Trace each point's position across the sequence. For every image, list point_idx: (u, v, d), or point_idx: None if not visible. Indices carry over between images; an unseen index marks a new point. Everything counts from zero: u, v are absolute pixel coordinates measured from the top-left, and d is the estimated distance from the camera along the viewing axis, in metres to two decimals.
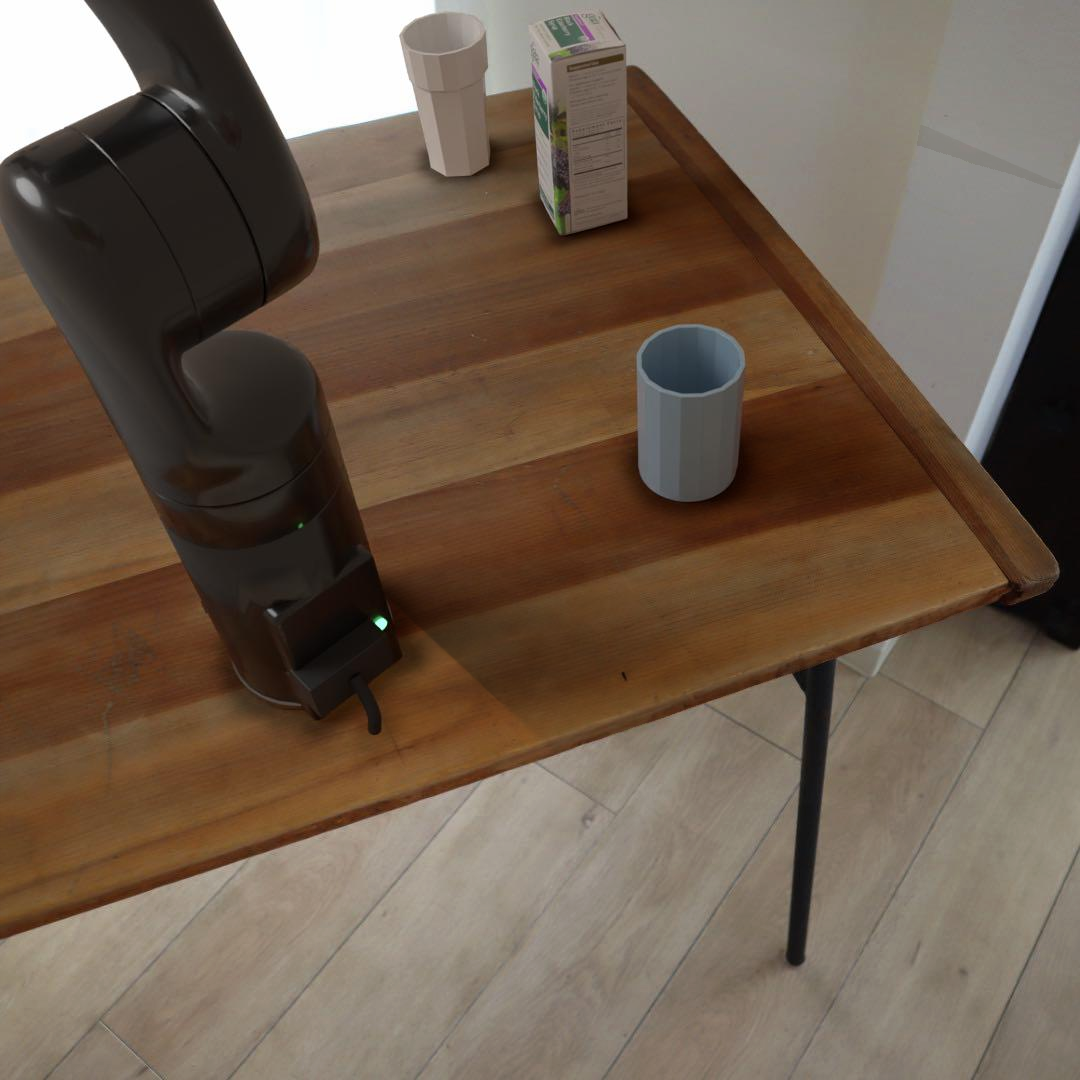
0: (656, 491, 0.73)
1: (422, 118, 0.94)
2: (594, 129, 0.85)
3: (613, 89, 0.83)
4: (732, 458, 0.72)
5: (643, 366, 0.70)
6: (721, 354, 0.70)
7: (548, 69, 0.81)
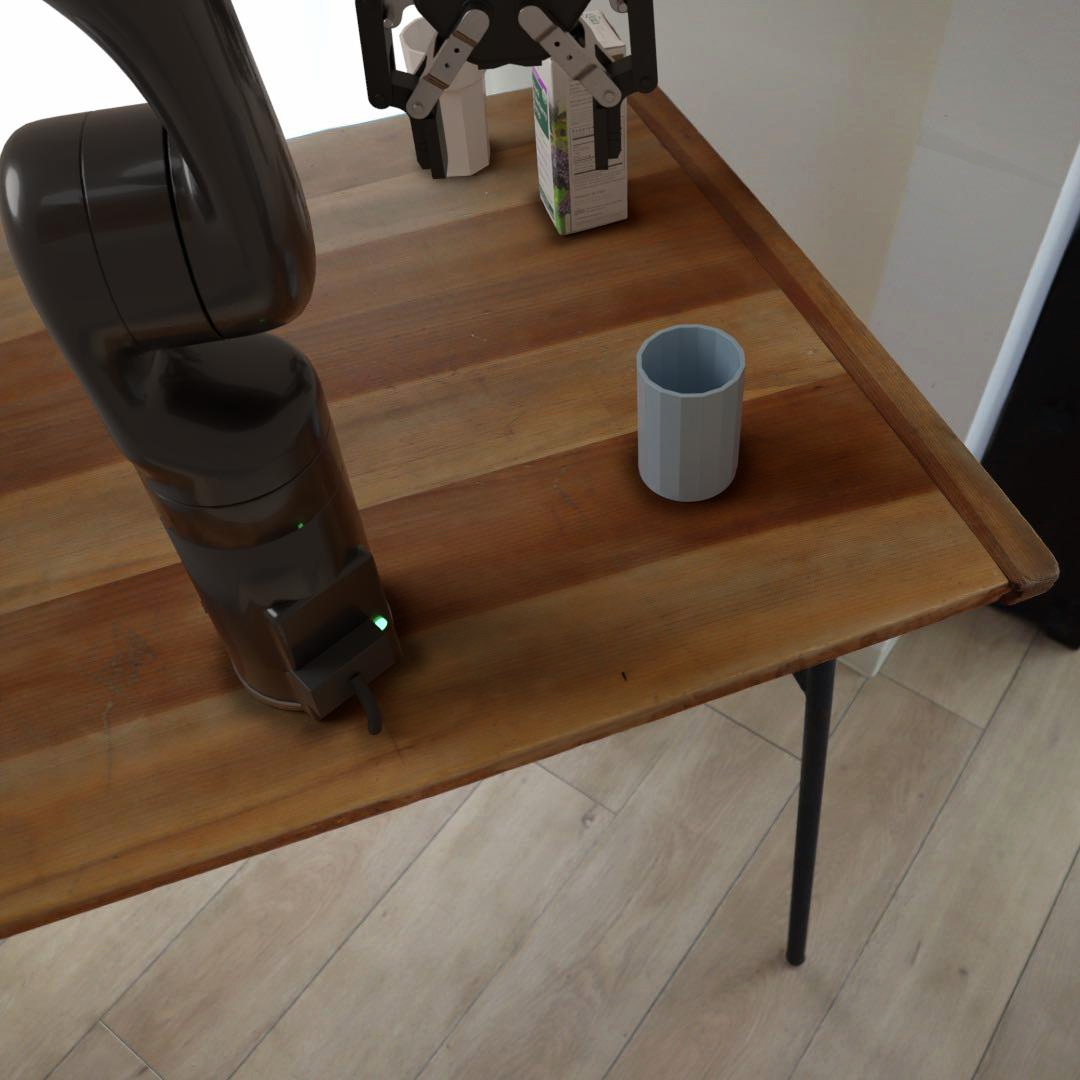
0: (656, 491, 0.73)
1: None
2: None
3: None
4: (732, 458, 0.72)
5: (643, 366, 0.70)
6: (721, 354, 0.70)
7: (548, 69, 0.81)
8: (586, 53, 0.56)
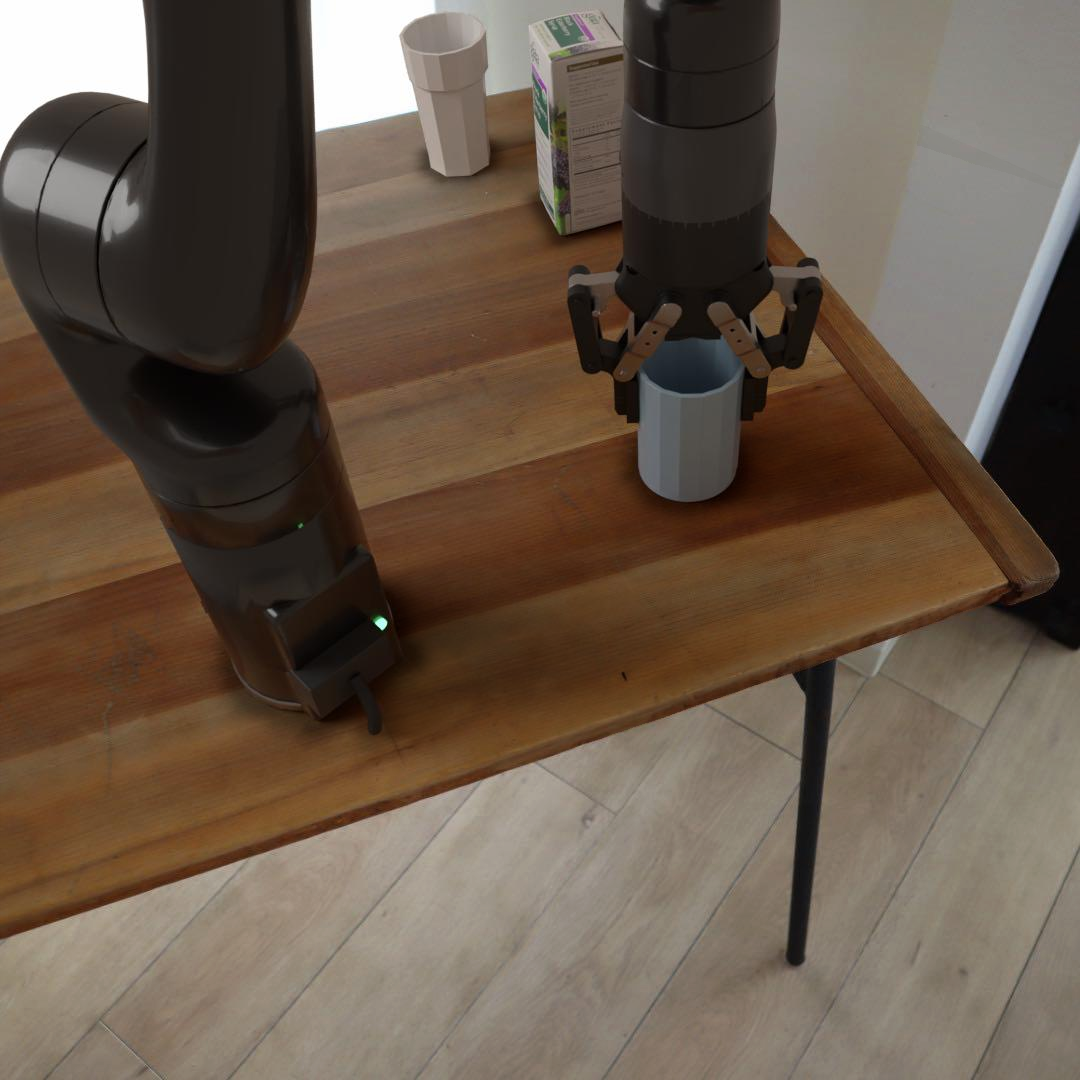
0: (656, 491, 0.73)
1: (422, 118, 0.94)
2: (594, 129, 0.85)
3: (613, 89, 0.83)
4: (732, 458, 0.72)
5: (643, 366, 0.70)
6: (721, 354, 0.70)
7: (548, 69, 0.81)
8: (752, 338, 0.65)
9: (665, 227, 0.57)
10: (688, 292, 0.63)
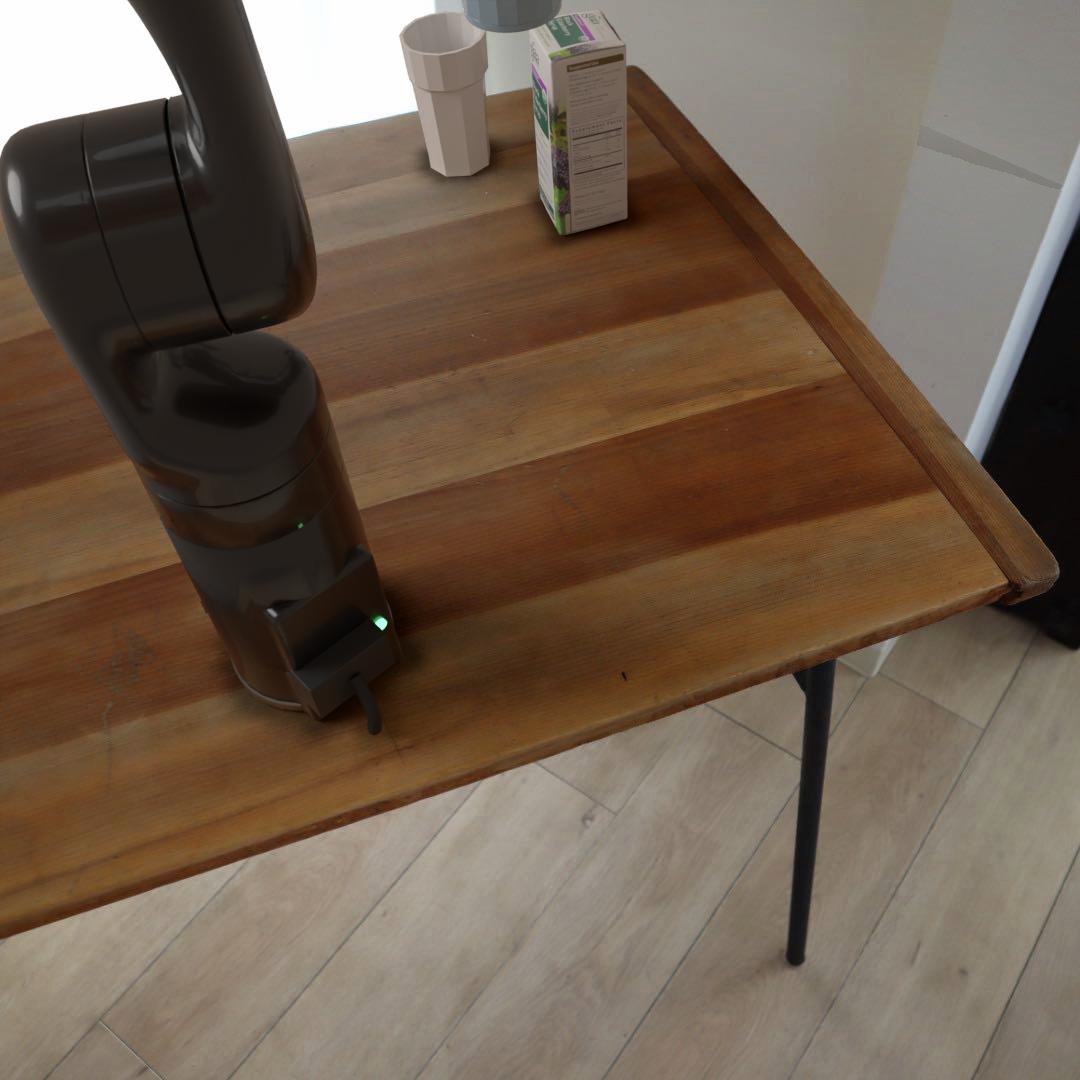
0: (478, 25, 0.73)
1: (422, 118, 0.94)
2: (594, 129, 0.85)
3: (613, 89, 0.83)
4: None
5: None
6: None
7: (548, 69, 0.81)
8: None
9: None
10: None
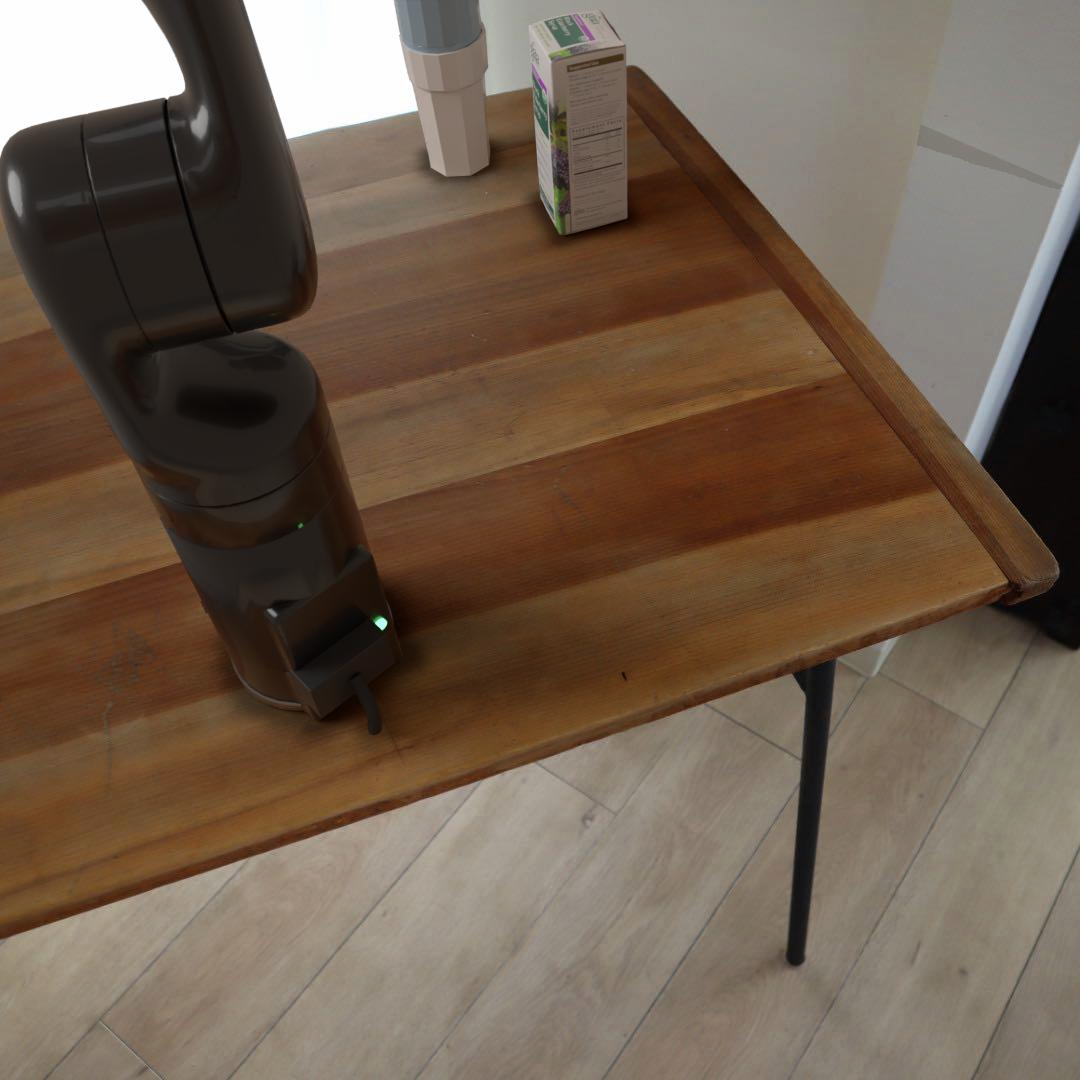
0: (411, 46, 0.89)
1: (422, 118, 0.94)
2: (594, 129, 0.85)
3: (613, 89, 0.83)
4: (469, 11, 0.87)
5: None
6: None
7: (548, 69, 0.81)
8: None
9: None
10: None
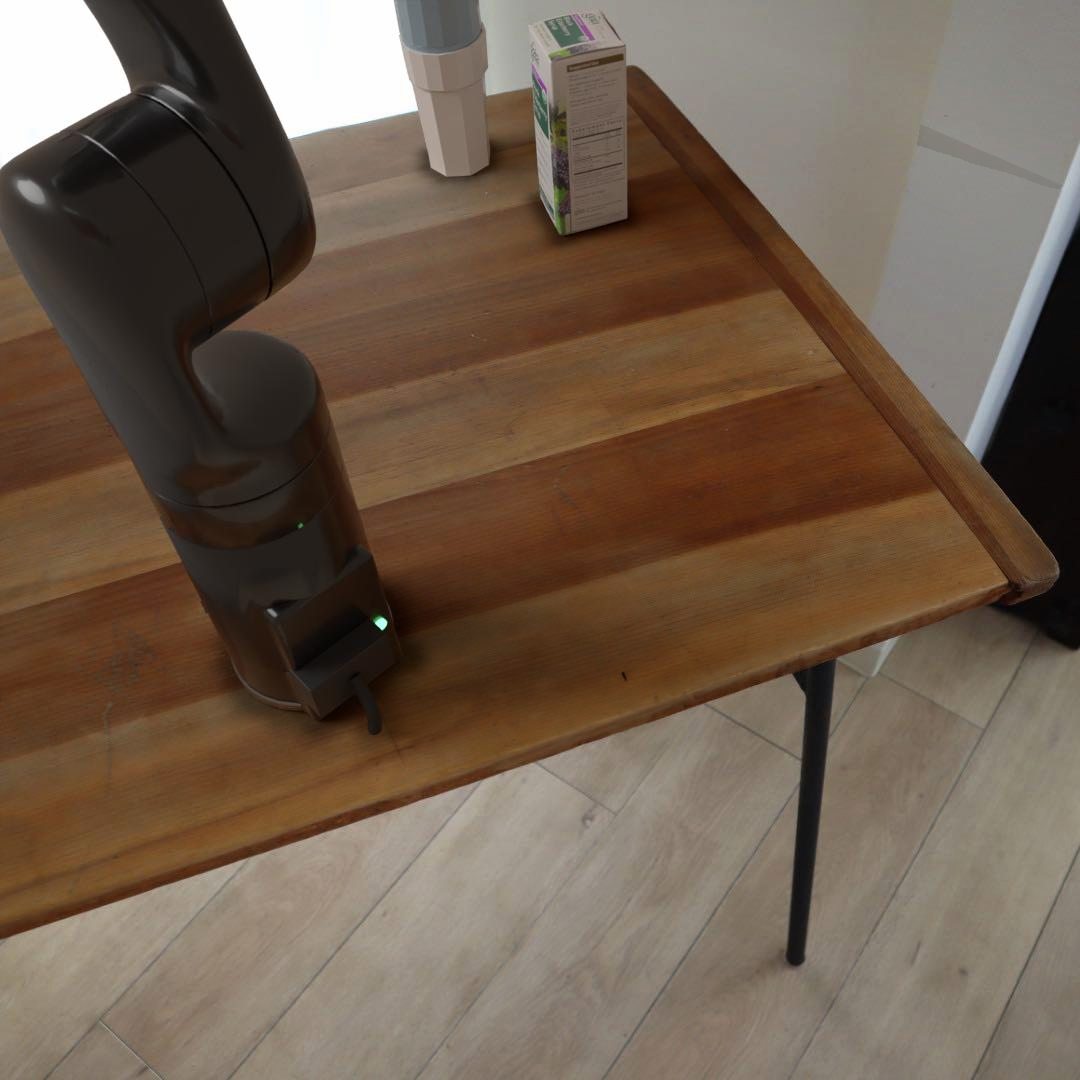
0: (411, 46, 0.89)
1: (422, 118, 0.94)
2: (594, 129, 0.85)
3: (613, 89, 0.83)
4: (469, 11, 0.87)
5: None
6: None
7: (548, 69, 0.81)
8: None
9: None
10: None
